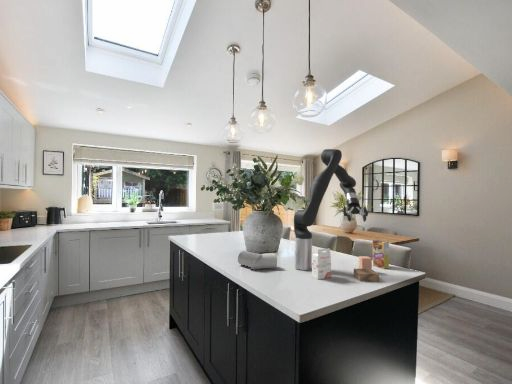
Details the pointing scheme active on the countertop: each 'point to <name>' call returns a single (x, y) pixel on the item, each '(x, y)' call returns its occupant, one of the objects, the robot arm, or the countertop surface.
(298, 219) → the robot arm
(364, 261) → the terracotta block
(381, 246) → the candy box
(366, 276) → the walnut block
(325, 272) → the ink cartridge box
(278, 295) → the countertop surface
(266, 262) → the bent grey cylinder
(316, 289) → the countertop surface
